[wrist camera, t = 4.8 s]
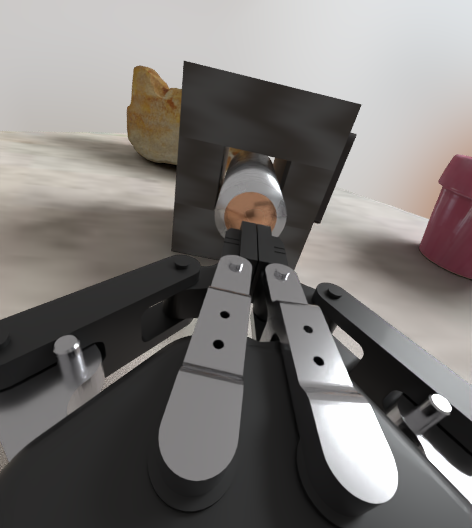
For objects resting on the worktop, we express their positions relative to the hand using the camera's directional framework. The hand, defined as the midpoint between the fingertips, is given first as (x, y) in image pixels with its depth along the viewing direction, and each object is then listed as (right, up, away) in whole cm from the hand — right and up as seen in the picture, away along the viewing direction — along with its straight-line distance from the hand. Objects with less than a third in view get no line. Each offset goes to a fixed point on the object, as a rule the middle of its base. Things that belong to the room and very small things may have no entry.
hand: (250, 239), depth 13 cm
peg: (0, +2, +8) cm, 8 cm away
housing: (-1, +2, +15) cm, 16 cm away
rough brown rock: (-8, +18, +37) cm, 41 cm away
